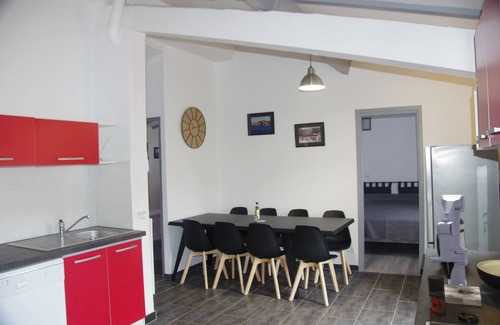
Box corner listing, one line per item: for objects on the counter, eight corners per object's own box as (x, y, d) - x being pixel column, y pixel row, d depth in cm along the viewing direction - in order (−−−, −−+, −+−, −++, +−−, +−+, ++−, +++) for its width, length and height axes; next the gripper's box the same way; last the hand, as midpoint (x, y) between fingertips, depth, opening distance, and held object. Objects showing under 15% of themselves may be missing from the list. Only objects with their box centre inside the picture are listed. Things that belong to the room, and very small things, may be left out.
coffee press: (438, 260, 241) (435, 211, 241) (468, 261, 234) (464, 211, 234) (438, 267, 226) (434, 215, 226) (470, 269, 219) (466, 215, 219)
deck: (438, 289, 190) (438, 284, 190) (479, 292, 182) (479, 287, 182) (437, 301, 174) (436, 296, 174) (481, 306, 166) (481, 300, 166)
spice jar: (427, 312, 163) (424, 276, 163) (438, 310, 165) (435, 274, 165) (438, 317, 158) (435, 280, 158) (449, 314, 160) (447, 277, 160)
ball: (464, 285, 180) (464, 292, 179) (456, 284, 181) (456, 291, 179) (466, 284, 177) (466, 291, 176) (458, 282, 178) (458, 290, 177)
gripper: (428, 250, 180) (430, 279, 180) (465, 251, 173) (467, 282, 173) (429, 246, 186) (431, 275, 186) (464, 247, 179) (466, 277, 179)
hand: (448, 278), depth 180 cm, fingers closed
